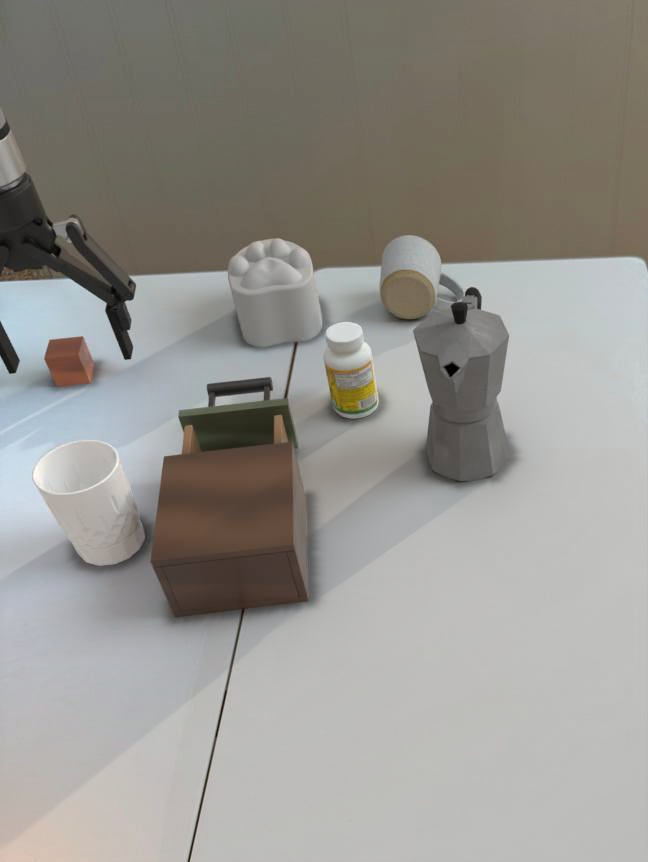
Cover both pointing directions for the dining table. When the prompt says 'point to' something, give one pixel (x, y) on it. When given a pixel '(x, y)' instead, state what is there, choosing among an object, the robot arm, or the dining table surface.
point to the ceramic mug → (414, 278)
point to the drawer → (238, 419)
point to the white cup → (91, 500)
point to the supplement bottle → (350, 371)
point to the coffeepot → (464, 388)
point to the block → (69, 361)
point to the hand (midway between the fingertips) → (72, 360)
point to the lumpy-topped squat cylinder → (275, 293)
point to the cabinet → (231, 530)
